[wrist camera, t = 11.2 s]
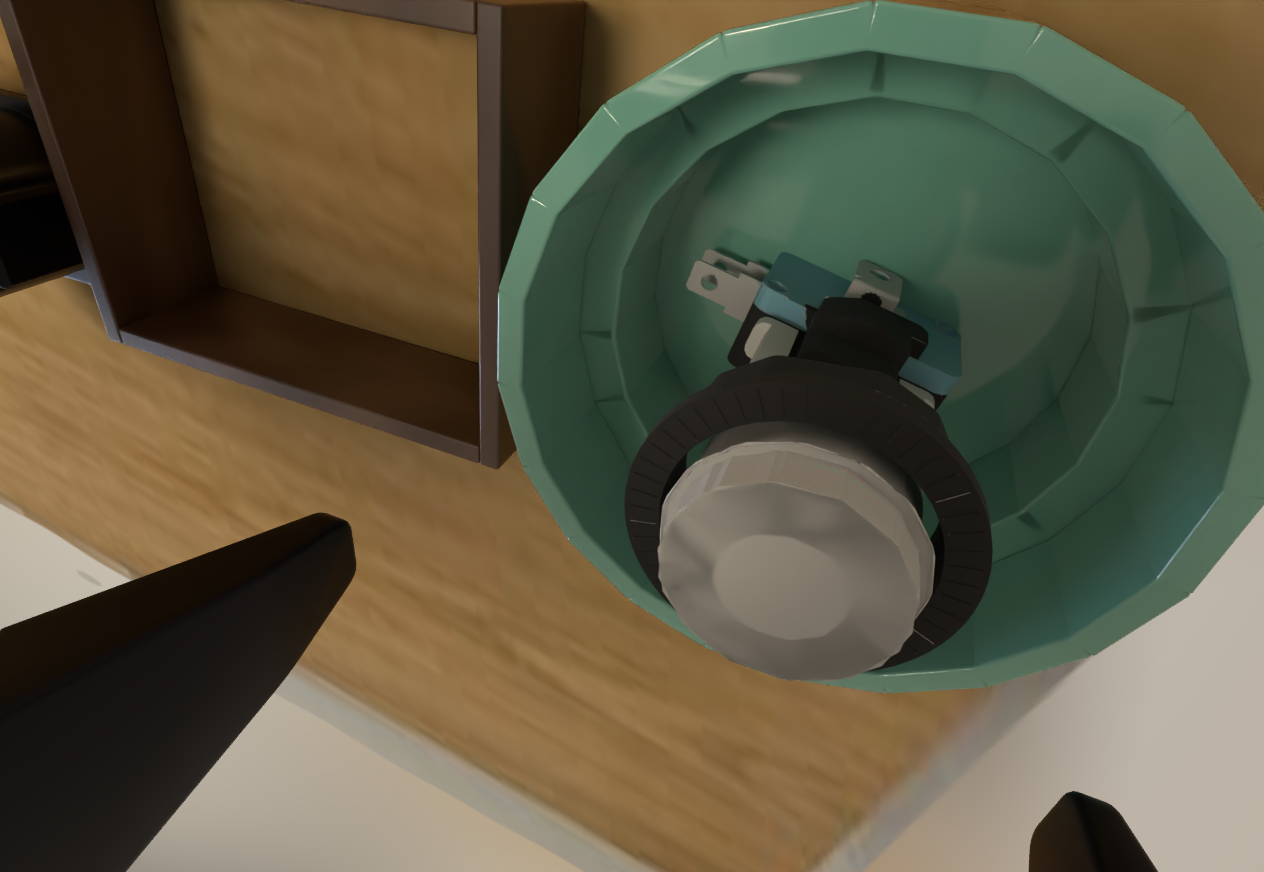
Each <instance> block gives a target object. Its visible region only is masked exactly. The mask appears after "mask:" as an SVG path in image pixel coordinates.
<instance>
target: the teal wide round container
mask: <svg viewBox="0 0 1264 872" xmlns="http://www.w3.org/2000/svg"><path fill="white" fill-rule="evenodd" d="M710 248H711V249H713V250H716V251H718V252H720V253H722V254H724V255H726V256H728V257H730V258H733V259H735V260H737V261H739V262H741V263H743V264H745V265H747V264H748V262H749V260H751V261H753V262H755V263H757V264H759V265H762V266H764V267H766V268H768V269H771V267H772V265H773V264H774V262H775V261H776V259H777V257H778V256H779V254H780V253H789V254H792V255H795V256H797V257H799V258H801V259H803V260H805V261H808V262H810V263H812V264H814V265H816V266H818V267H820V268H823V269H825V270H827V271H829V272H831V273H833V274H836V275H838V276H840V277H842V278H844V279H846V280H849V281H851V282H852V281H853V279H854V275H855V272H856V269H857V265H858V263H859V261H860V260H862V261H868V262H870V263H872V264H875V265H877V266H879V267H881V268H883V269H885V270H888V271H890V272H892V273H894V274H896V275H898V276H899V277H900V278H901V279H902V280H903V282H902V290H901V295H900V296H899V297H900V301H899V302H898V304H900V305H902V306H905V307H907V308H909V309H911V310H913V311H915V312H918V313H920V314H922V315H924V316H926V317H928V318H931V319H933V320H934V319H936V320H938V321H940V322H942V323H945V324H947V325H949V326H950V327H952V328H954V329H955V330H956V331H958V332H959V333H960V335H961V362H962V375H961V377H960V378H959V379H958V381H957V382H956V383H955V385H954V386H953V388H952V389H951V390H950V392H949V393H948V395H947V397H946V398H945V399H944V401H943V402H942V403H941V405H940V406H939V407H938V409H937V410H936V411H937V413H938V414H939V415H940V417H941V420H942V422H943V425H944V428H945V430H946V433H947V436H948V438H949V440H950V442H951V443H952V444H953V445H954V446H955V447H956V448H957V449H958V450H959V452H960V453H961V455H962V456H963V457H964V459H965V460H966V462H967V463H968V464H969V466H970V467H971V469H972V471H973V473H974V475H975V476H976V478H977V480H978V482H979V484H980V486H981V489H982V492H983V494H984V497H985V500H986V503H987V507H988V511H989V516H990V523H991V535H992V546H993V555H992V568H991V573H990V577H989V582H988V585H987V587H986V590H985V592H984V595H983V598H982V599H981V601H980V603H979V605H978V606H977V608H976V610H975V612H974V613H973V614H972V616H971V617H970V618H969V619H968V621H967V622H966V623H965V624H964V625H963V626H962V627H961V628H960V629H959V630H958V631H957V632H956V633H955V634H954V635H953V636H952V637H951V638H949V639H948V640H947V641H945V642H944V643H943V644H941V645H940V646H938V647H937V648H935V649H933V650H932V651H930V652H928V653H927V654H924V655H922V656H920V657H918V658H916V659H913V660H911V661H908V662H905V663H902V664H900V665H897V666H893V667H889V668H885V669H880V670H875V671H868V672H862V673H860V674H858V675H857V676H855V677H853V678H849V679H840V680H837V681H834V682H833V681H812V680H799V681H806V682H812V683H819V684H826V685H832V686H839V687H845V688H852V689H858V690H865V691H871V692H878V693H884V692H886V693H905V692H922V691H939V690H955V689H972V688H985V687H987V686H989V687H992V686H995V685H998V684H1002V683H1005V682H1008V681H1011V680H1015V679H1018V678H1021V677H1025V676H1028V675H1031V674H1035V673H1038V672H1041V671H1045V670H1048V669H1051V668H1055V667H1058V666H1061V665H1065V664H1068V663H1071V662H1075V661H1078V660H1081V659H1085V658H1088V657H1090V656H1091V655H1096V654H1098V653H1099V652H1101V651H1102V650H1104V649H1106V648H1107V647H1109V646H1110V645H1112V644H1114V643H1115V642H1117V641H1118V640H1120V639H1121V638H1123V637H1125V636H1126V635H1128V634H1129V633H1131V632H1133V631H1134V630H1136V629H1137V628H1139V627H1141V626H1142V625H1144V624H1145V623H1147V622H1148V621H1150V620H1152V619H1153V618H1155V617H1156V616H1158V615H1160V614H1161V613H1163V612H1164V611H1166V610H1167V609H1169V608H1171V607H1172V606H1174V605H1176V604H1177V603H1179V602H1180V601H1182V600H1183V599H1185V598H1187V597H1188V596H1189V594H1190V593H1193V592H1194V590H1195V589H1196V588H1197V587H1198V585H1199V584H1200V583H1201V582H1202V580H1203V579H1204V578H1205V577H1206V575H1207V574H1208V573H1209V572H1210V571H1211V569H1212V568H1213V567H1214V565H1215V564H1216V563H1217V562H1218V561H1219V560H1220V558H1221V557H1222V556H1223V555H1224V553H1225V552H1226V551H1227V550H1228V548H1229V547H1230V546H1231V545H1232V544H1233V542H1234V541H1235V540H1236V538H1237V537H1238V536H1239V535H1240V534H1241V532H1242V531H1243V530H1244V529H1245V528H1246V526H1247V525H1248V524H1249V523H1250V521H1251V520H1252V519H1253V518H1254V516H1255V515H1256V514H1257V513H1258V512H1259V510H1260V509H1261V508H1262V507H1263V505H1264V211H1263V210H1262V208H1261V207H1260V205H1259V204H1258V203H1257V201H1256V200H1255V199H1254V197H1253V196H1252V194H1251V193H1250V192H1249V190H1248V189H1247V188H1246V186H1245V185H1244V183H1243V182H1242V181H1241V179H1240V178H1239V177H1238V175H1237V174H1236V172H1235V171H1234V170H1233V168H1232V167H1231V165H1230V164H1229V163H1228V161H1227V160H1226V159H1225V157H1224V156H1223V154H1222V153H1221V152H1220V150H1219V149H1218V148H1217V146H1216V145H1215V143H1214V142H1213V141H1212V139H1211V138H1210V137H1209V135H1208V134H1207V132H1206V131H1205V130H1204V128H1203V127H1202V126H1201V124H1200V123H1199V121H1198V120H1197V119H1196V117H1195V116H1194V115H1193V113H1192V112H1190V111H1188V110H1186V108H1185V106H1184V105H1183V104H1181V103H1180V102H1178V101H1176V100H1174V99H1173V98H1171V97H1169V96H1167V95H1166V94H1164V93H1162V92H1160V91H1159V90H1157V89H1155V88H1154V87H1152V86H1150V85H1148V84H1147V83H1145V82H1143V81H1141V80H1140V79H1138V78H1136V77H1134V76H1133V75H1131V74H1129V73H1127V72H1126V71H1124V70H1122V69H1121V68H1119V67H1117V66H1115V65H1114V64H1112V63H1110V62H1108V61H1107V60H1105V59H1103V58H1101V57H1100V56H1098V55H1096V54H1094V53H1093V52H1091V51H1089V50H1088V49H1086V48H1084V47H1082V46H1081V45H1079V44H1077V43H1075V42H1074V41H1072V40H1070V39H1068V38H1067V37H1065V36H1063V35H1062V34H1060V33H1058V32H1056V31H1055V30H1053V29H1051V28H1049V27H1048V26H1045V25H1043V24H1040V23H1037V22H1035V21H1032V20H1030V19H1027V18H1024V17H1021V16H1019V15H1016V14H1013V13H1009V12H1007V11H1004V10H999V9H992V8H985V7H978V6H971V5H965V4H958V3H951V2H944V1H937V0H865V1H861V2H856V3H851V4H846V5H841V6H836V7H832V8H827V9H822V10H817V11H812V12H808V13H803V14H798V15H793V16H788V17H783V18H779V19H774V20H769V21H764V22H759V23H755V24H750V25H745V26H740V27H735V28H730V29H726V30H725V31H723V32H720V33H716V34H715V35H713V36H711V37H710V38H708V39H706V40H705V41H703V42H702V43H700V44H698V45H697V46H695V47H693V48H692V49H690V50H688V51H687V52H685V53H684V54H682V55H680V56H679V57H677V58H675V59H674V60H672V61H671V62H669V63H667V64H666V65H664V66H662V67H661V68H659V69H657V70H656V71H654V72H653V73H651V74H649V75H648V76H646V77H644V78H643V79H641V80H639V81H638V82H636V83H635V84H633V85H631V86H630V87H628V88H626V89H625V90H623V91H621V92H620V93H618V94H617V95H615V96H613V97H612V98H610V99H609V100H608V101H607V103H605V104H603V105H602V106H601V107H600V108H599V109H598V111H597V112H596V113H595V114H594V116H593V117H592V118H591V119H590V121H589V122H588V123H587V124H586V126H585V127H584V128H583V129H582V131H581V132H580V133H579V134H578V136H577V137H576V138H575V139H574V141H573V142H572V143H571V144H570V146H569V147H568V148H567V149H566V151H565V152H564V153H563V154H562V155H561V157H560V158H559V159H558V160H557V162H556V163H555V164H554V165H553V167H552V168H551V169H550V170H549V172H548V173H547V174H546V175H545V177H544V178H543V179H542V180H541V182H540V183H539V184H538V185H537V187H536V188H535V189H534V190H533V193H532V195H531V196H530V199H529V202H528V205H527V208H526V211H525V214H524V217H523V219H522V222H521V225H520V228H519V231H518V234H517V237H516V240H515V243H514V245H513V248H512V251H511V254H510V257H509V260H508V263H507V266H506V268H505V271H504V274H503V277H502V280H501V283H500V286H499V292H498V347H497V381H498V382H499V383H498V387H499V391H500V394H501V397H502V401H503V404H504V407H505V411H506V414H507V418H508V421H509V424H510V428H511V431H512V434H513V438H514V441H515V444H516V448H517V451H518V455H519V458H520V461H521V464H522V465H523V468H524V470H525V472H526V474H527V475H528V477H529V479H530V480H531V482H532V483H533V485H534V487H535V488H536V490H537V491H538V493H539V495H540V496H541V498H542V500H543V501H544V503H545V504H546V506H547V508H548V509H549V511H550V513H551V514H552V516H553V517H554V519H555V521H556V522H557V524H558V525H559V527H560V529H561V530H562V532H563V534H564V535H565V537H566V538H569V539H568V540H569V542H570V543H571V544H572V545H573V546H574V547H575V548H576V549H577V550H578V551H579V552H580V553H581V554H582V555H583V556H584V557H586V558H587V559H588V560H589V561H590V562H591V563H592V564H593V565H594V566H595V567H596V568H597V569H598V570H599V571H600V572H601V573H602V574H603V575H604V576H605V577H606V578H607V579H608V580H609V581H610V582H611V583H612V584H613V585H614V586H615V587H616V588H617V589H618V590H619V591H620V592H621V593H622V594H623V595H624V596H625V597H626V598H630V601H631V602H633V603H634V604H636V605H637V606H639V607H641V608H642V609H644V610H645V611H647V612H649V613H650V614H652V615H653V616H655V617H656V618H658V619H660V620H661V621H663V622H664V623H666V624H668V625H669V626H671V627H672V628H674V629H676V630H677V631H679V632H680V633H682V634H683V635H685V636H687V637H688V638H690V639H691V640H693V641H695V642H696V643H698V644H699V645H702V646H703V645H704V647H705V648H708V649H710V650H713V651H716V650H715V649H713V648H712V647H711V646H709V645H708V644H707V643H705V642H704V641H703V640H701V639H700V638H699V637H697V636H696V635H695V634H693V633H692V632H691V631H689V630H688V629H687V627H686V626H685V625H684V624H683V623H682V621H681V620H680V618H679V616H678V614H677V612H676V611H675V610H674V609H673V608H672V607H671V606H670V605H669V603H668V602H667V601H666V600H665V599H664V598H663V597H662V596H661V595H660V593H659V592H658V591H657V590H656V588H655V587H654V586H653V585H652V583H651V582H650V580H649V579H648V577H647V576H646V574H645V573H644V571H643V569H642V567H641V565H640V563H639V562H638V560H637V557H636V555H635V553H634V550H633V548H632V545H631V542H630V539H629V535H628V532H627V526H626V520H625V508H624V500H625V488H626V484H627V479H628V475H629V472H630V469H631V466H632V463H633V461H634V459H635V457H636V455H637V453H638V451H639V449H640V448H641V446H642V445H643V443H644V442H645V440H646V439H647V437H648V436H649V434H650V433H651V431H652V430H653V428H654V427H655V426H656V424H657V423H658V422H659V421H660V420H661V419H662V418H663V417H664V416H665V415H666V414H667V413H668V412H669V411H670V410H671V409H673V408H674V407H675V406H676V405H677V404H678V403H680V402H682V401H683V400H685V399H686V398H688V397H689V396H691V395H692V394H694V393H696V392H698V391H700V390H702V389H704V388H706V387H708V386H709V385H710V384H711V383H712V382H713V381H714V379H715V378H716V377H717V376H718V375H719V374H721V373H723V372H725V371H728V370H731V369H734V368H736V367H734V366H733V365H731V364H730V363H729V361H728V359H727V356H728V354H729V351H730V349H731V347H732V345H733V343H734V341H735V339H736V337H737V335H738V332H739V330H740V328H741V326H742V324H743V322H742V321H740V320H738V319H736V318H734V317H732V316H730V315H728V314H726V313H724V312H723V311H724V309H725V307H724V306H722V305H720V304H718V303H716V302H714V301H712V300H710V299H708V298H706V297H703V296H701V295H699V294H697V293H695V292H693V291H691V290H689V289H688V288H687V285H686V284H687V281H688V279H689V276H690V274H691V271H692V269H693V266H694V264H695V262H696V261H698V260H700V259H701V260H702V258H703V256H704V253H705V251H706V250H707V249H710ZM713 265H714V266H716V267H718V268H720V269H722V270H724V271H726V272H727V268H726V266H725V265H724V264H723V263H721V262H717V263H714V264H713ZM871 273H872V274H873V275H874V276H875V277H877V278H879V279H881V280H885V281H888V280H887V279H886V278H884V277H883V276H881V275H879V274H877V273H873V272H871ZM702 284H703V286H704V287H705V288H707V289H710V290H712V289H715V288H716V287H717V286H716V285H714V284H712V283H710V282H708V281H706V280H704V279H702ZM711 437H712V436H711ZM711 437H709V438H707V439H706V440H704V441H702V442H701V443H699V444H697V445H696V446H695V447H694V448H692V449H691V450H690V451H689V452H688V453H687V460H686V470H687V469H688V468H689V467H690V466H692V465H693V464H694V463H695V462H697V461H699V460H700V458H701V456H702V454H703V452H704V450H705V449H706V447H707V445H708V443H709V441H710V439H711ZM938 523H939V519H938V517H937V515H936V512H935V510H934V508H933V506H932V504H931V503H930V501H929V499H928V498H927V496H926V494H925V493H924V497H923V526H924V528H925V530H926V532H927V535H928V537H929V539H930V538H931V536H932V534H933V533H934V531H935V530H936V527H937V525H938ZM716 652H717V651H716ZM718 653H719V652H718Z"/></svg>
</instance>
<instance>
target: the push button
mask: <svg viewBox="0 0 1264 872" xmlns="http://www.w3.org/2000/svg"><path fill="white" fill-rule="evenodd" d="M717 262H721V263H723V264H724V265H725V266H726V268H727V272H726V271H724V270H722V269H720V268H718V267H716V266H714V265H713V264H714V263H717ZM871 272H873V273H877V274H879V275H881V276H883V277H884V278H886V279H887V280H888V281H885V280H881V279H879V278H877V277H875V276H874V275H873V274H872V273H871ZM702 279H704V280H706V281H708V282H710V283H712V284H714V285H716V286H717V287H716V288H715V289H712V290H710V289H707V288H705V287H704V286H703V284H702ZM902 282H903V280H902V279H901V278H900V277H899V276H898V275H896V274H894V273H892V272H890V271H888V270H885V269H883V268H881V267H879V266H877V265H875V264H872V263H870V262H868V261H862V260H860V261H859V263H858V265H857V269H856V272H855V275H854V279H853V281H852V282H851V281H849V280H846V279H844V278H842V277H840V276H838V275H836V274H833V273H831V272H829V271H827V270H825V269H823V268H820V267H818V266H816V265H814V264H812V263H810V262H808V261H805V260H803V259H801V258H799V257H797V256H795V255H792V254H789V253H780V254H779V256H778V257H777V259H776V261H775V262H774V264H773V265H772V267H771V269H768V268H766V267H764V266H762V265H759V264H757V263H755V262H753V261H751V260H749V262H748V264H747V265H745V264H743V263H741V262H739V261H737V260H735V259H733V258H730V257H728V256H726V255H724V254H722V253H720V252H718V251H716V250H713V249H711V248H710V249H707V250H706V251H705V253H704V256H703V258H702V260H701V259H700V260H698V261H696V262H695V264H694V266H693V269H692V271H691V274H690V276H689V279H688V281H687V284H686V285H687V288H688V289H689V290H691V291H693V292H695V293H697V294H699V295H701V296H703V297H706V298H708V299H710V300H712V301H714V302H716V303H718V304H720V305H722V306H724V307H725V309H724V311H723V312H724V313H726V314H728V315H730V316H732V317H734V318H736V319H738V320H740V321H742V322H743V324H742V326H741V328H740V330H739V332H738V335H737V337H736V339H735V341H734V343H733V345H732V347H731V349H730V351H729V354H728V356H727V359H728V361H729V363H730V364H731V365H733V366H734V367H736V368H734V369H731V370H728V371H725V372H723V373H721V374H719V375H718V376H717V377H716V378H715V379H714V381H713V382H712V383H711V384H710V385H709V386H708V387H706V388H704V389H702V390H700V391H698V392H696V393H694V394H692V395H691V396H689V397H688V398H686V399H685V400H683V401H682V402H680V403H678V404H677V405H676V406H675V407H674V408H673V409H671V410H670V411H669V412H668V413H667V414H666V415H665V416H664V417H663V418H662V419H661V420H660V421H659V422H658V423H657V424H656V426H655V427H654V428H653V430H652V431H651V433H650V434H649V436H648V437H647V439H646V440H645V442H644V443H643V445H642V446H641V448H640V449H639V451H638V453H637V455H636V457H635V459H634V461H633V463H632V466H631V469H630V472H629V475H628V479H627V484H626V488H625V500H624V508H625V520H626V526H627V532H628V535H629V539H630V542H631V545H632V548H633V550H634V553H635V555H636V557H637V560H638V562H639V563H640V565H641V567H642V569H643V571H644V573H645V574H646V576H647V577H648V579H649V580H650V582H651V583H652V585H653V586H654V587H655V588H656V590H657V591H658V592H659V593H660V595H661V596H662V597H663V598H664V599H665V600H666V601H667V602H668V603H669V605H670V606H671V607H672V608H673V609H674V610H675V611H676V612H677V614H678V616H679V618H680V620H681V621H682V623H683V624H684V625H685V626H686V627H687V629H688V630H689V631H691V632H692V633H693V634H695V635H696V636H697V637H699V638H700V639H701V640H703V641H704V642H705V643H707V644H708V645H709V646H711V647H712V648H713V649H715V650H716V651H717V652H719V653H720V654H721V655H723V656H724V657H725V658H727V659H728V660H729V661H732V662H735V663H738V664H740V665H743V666H746V667H749V668H751V669H754V670H757V671H760V672H763V673H765V674H768V675H771V676H774V677H776V678H779V679H786V680H789V681H793V680H812V681H833V682H834V681H837V680H840V679H849V678H853V677H855V676H857V675H858V674H860V673H862V672H868V671H875V670H880V669H885V668H889V667H893V666H897V665H900V664H902V663H905V662H908V661H911V660H913V659H916V658H918V657H920V656H922V655H924V654H927V653H928V652H930V651H932V650H933V649H935V648H937V647H938V646H940V645H941V644H943V643H944V642H945V641H947V640H948V639H949V638H951V637H952V636H953V635H954V634H955V633H956V632H957V631H958V630H959V629H960V628H961V627H962V626H963V625H964V624H965V623H966V622H967V621H968V619H969V618H970V617H971V616H972V614H973V613H974V612H975V610H976V608H977V606H978V605H979V603H980V601H981V599H982V598H983V595H984V592H985V590H986V587H987V585H988V582H989V577H990V573H991V568H992V555H993V546H992V535H991V523H990V516H989V511H988V507H987V503H986V500H985V497H984V494H983V492H982V489H981V486H980V484H979V482H978V480H977V478H976V476H975V475H974V473H973V471H972V469H971V467H970V466H969V464H968V463H967V462H966V460H965V459H964V457H963V456H962V455H961V453H960V452H959V450H958V449H957V448H956V447H955V446H954V445H953V444H952V443H951V442H950V440H949V438H948V436H947V433H946V430H945V428H944V425H943V422H942V420H941V417H940V415H939V414H938V413H937V411H936V410H937V409H938V407H939V406H940V405H941V403H942V402H943V401H944V399H945V398H946V397H947V395H948V393H949V392H950V390H951V389H952V388H953V386H954V385H955V383H956V382H957V381H958V379H959V378H960V377H961V375H962V362H961V335H960V333H959V332H958V331H956V330H955V329H954V328H952V327H950V326H949V325H947V324H945V323H942V322H940V321H938V320H936V319H934V320H933V319H931V318H928V317H926V316H924V315H922V314H920V313H918V312H915V311H913V310H911V309H909V308H907V307H905V306H902V305H900V304H898V302H899V301H900V297H899V296H900V295H901V290H902ZM711 436H712V437H711ZM709 437H711V439H710V441H709V443H708V445H707V447H706V449H705V450H704V452H703V454H702V456H701V458H700V460H699V461H697V462H695V463H694V464H693V465H692V466H690V467H689V468H688V469H687V470H686V460H687V453H688V452H689V451H690V450H691V449H692V448H694V447H695V446H696V445H697V444H699V443H701V442H702V441H704V440H706V439H707V438H709ZM924 493H925V494H926V496H927V498H928V499H929V501H930V503H931V504H932V506H933V508H934V510H935V512H936V515H937V517H938V519H939V523H938V525H937V527H936V530H935V531H934V533H933V534H932V536H931V538H930V539H929V537H928V535H927V532H926V530H925V528H924V526H923V497H924Z"/></svg>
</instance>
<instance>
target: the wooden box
mask: <svg viewBox="0 0 1264 872" xmlns="http://www.w3.org/2000/svg"><path fill="white" fill-rule="evenodd" d="M286 1H291V2H297V3H302V4H308V5H313V6H319V7H324V8H330V9H335V10H341V11H346V12H352V13H357V14H363V15H368V16H374V17H379V18H385V19H390V20H396V21H401V22H407V23H412V24H418V25H423V26H429V27H434V28H440V29H445V30H451V31H456V32H462V33H467V34H473V35H477V114H478V244H479V365H478V364H474V363H471V362H468V361H464V360H461V359H458V358H455V357H451V356H448V355H445V354H441V353H438V352H435V351H431V350H428V349H425V348H421V347H418V346H415V345H411V344H408V343H405V342H401V341H398V340H395V339H391V338H388V337H385V336H381V335H378V334H375V333H371V332H368V331H365V330H361V329H358V328H355V327H351V326H348V325H345V324H341V323H338V322H335V321H331V320H328V319H325V318H321V317H318V316H315V315H311V314H308V313H305V312H301V311H298V310H295V309H291V308H288V307H285V306H281V305H278V304H275V303H272V302H268V301H265V300H262V299H258V298H255V297H252V296H248V295H245V294H242V293H238V292H235V291H232V290H228V289H225V288H222V287H218V283H217V279H216V275H215V270H214V266H213V262H212V257H211V253H210V248H209V244H208V240H207V235H206V231H205V227H204V222H203V218H202V214H201V209H200V205H199V201H198V196H197V192H196V188H195V183H194V179H193V175H192V170H191V166H190V161H189V157H188V153H187V148H186V144H185V140H184V135H183V131H182V127H181V122H180V118H179V114H178V109H177V105H176V101H175V96H174V92H173V87H172V83H171V79H170V74H169V70H168V66H167V61H166V57H165V53H164V48H163V44H162V40H161V35H160V31H159V27H158V22H157V18H156V13H155V9H154V5H153V0H0V17H1V20H2V23H3V26H4V29H5V32H6V35H7V38H8V41H9V44H10V47H11V50H12V53H13V56H14V59H15V62H16V65H17V68H18V70H19V73H20V76H21V79H22V82H23V85H24V88H25V91H26V94H27V97H28V100H29V103H30V106H31V109H32V112H33V115H34V118H35V121H36V124H37V127H38V130H39V133H40V136H41V139H42V142H43V144H44V147H45V150H46V153H47V156H48V159H49V162H50V165H51V168H52V171H53V174H54V177H55V180H56V183H57V186H58V189H59V192H60V195H61V198H62V201H63V204H64V207H65V210H66V213H67V216H68V219H69V221H70V224H71V227H72V230H73V233H74V236H75V239H76V242H77V245H78V248H79V251H80V254H81V257H82V260H83V263H84V266H85V269H86V272H87V275H88V278H89V281H90V284H91V287H92V290H93V293H94V295H95V298H96V301H97V304H98V307H99V310H100V313H101V316H102V319H103V322H104V325H105V328H106V331H107V334H108V337H109V339H110V340H113V341H116V342H119V343H124V344H125V345H128V346H131V347H134V348H137V349H140V350H143V351H146V352H149V353H152V354H154V355H157V356H160V357H163V358H166V359H169V360H172V361H175V362H178V363H181V364H184V365H187V366H190V367H193V368H196V369H199V370H202V371H205V372H208V373H211V374H214V375H217V376H220V377H223V378H226V379H229V380H232V381H235V382H238V383H241V384H244V385H247V386H250V387H253V388H256V389H259V390H262V391H265V392H268V393H271V394H274V395H276V396H279V397H282V398H285V399H288V400H291V401H294V402H297V403H300V404H303V405H306V406H309V407H312V408H315V409H318V410H321V411H324V412H327V413H330V414H333V415H336V416H339V417H342V418H345V419H348V420H351V421H354V422H357V423H360V424H363V425H366V426H369V427H372V428H375V429H378V430H381V431H384V432H387V433H390V434H393V435H395V436H398V437H401V438H404V439H407V440H410V441H413V442H416V443H419V444H422V445H425V446H428V447H431V448H434V449H437V450H440V451H443V452H446V453H449V454H452V455H455V456H458V457H461V458H464V459H467V460H470V461H473V462H476V463H481V464H482V465H485V466H488V467H491V468H494V469H499V468H500V467H501V466H502V465H503V464H504V463H505V462H506V460H507V459H508V458H509V457H510V456H511V455H512V454H513V453H514V452H515V451H516V450H517V448H516V444H515V441H514V438H513V434H512V431H511V428H510V424H509V421H508V418H507V414H506V411H505V407H504V404H503V401H502V397H501V394H500V391H499V387H498V383H499V382H498V381H497V347H498V292H499V286H500V283H501V280H502V277H503V274H504V271H505V268H506V266H507V263H508V260H509V257H510V254H511V251H512V248H513V245H514V243H515V240H516V237H517V234H518V231H519V228H520V225H521V222H522V219H523V217H524V214H525V211H526V208H527V205H528V202H529V199H530V196H531V195H532V193H533V190H534V189H535V188H536V187H537V185H538V184H539V183H540V182H541V180H542V179H543V178H544V177H545V175H546V174H547V173H548V172H549V170H550V169H551V168H552V167H553V165H554V164H555V163H556V162H557V160H558V159H559V158H560V157H561V155H562V154H563V153H564V152H565V151H566V149H567V148H568V147H569V146H570V144H571V143H572V142H573V141H574V139H575V138H576V137H577V124H578V109H579V94H580V79H581V64H582V49H583V35H584V20H585V2H584V1H581V0H286Z"/></svg>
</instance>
